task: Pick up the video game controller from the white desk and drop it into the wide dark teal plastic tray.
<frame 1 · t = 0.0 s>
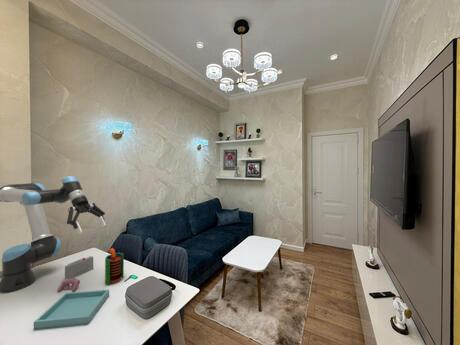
hand: (92, 229, 111), 36 cm above the table, tool tilted 35°, fingers open, 13 cm apart
motor: (113, 280, 121), on the table
tray: (76, 310, 95), on the table
video game controller: (69, 290, 112), on the table
cassette player: (79, 274, 128), on the table
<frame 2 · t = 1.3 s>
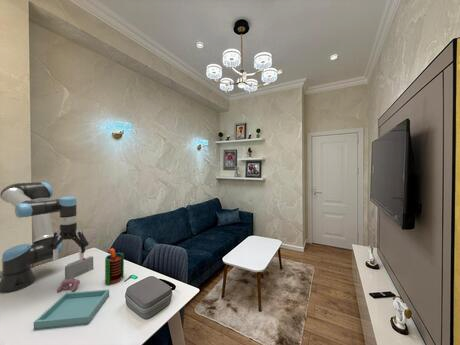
hand: (68, 259, 112), 18 cm above the table, tool pointing down, fingers open, 13 cm apart
nothing on the table moved.
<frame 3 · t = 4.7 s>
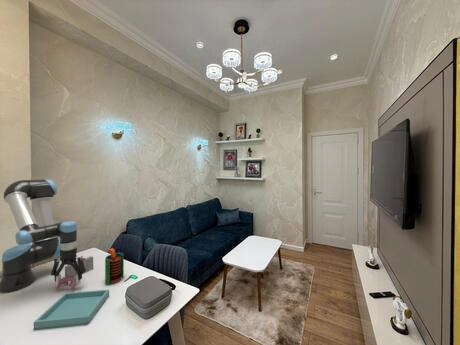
hand: (68, 285, 112), 2 cm above the table, tool pointing down, fingers closed on video game controller, 10 cm apart
video game controller: (67, 287, 111), point 2 cm above the table, touching gripper
everything else where it was.
when the fingers open (2 cm above the table, at t = 11.0 s): video game controller moves 1 cm, resting on tray.
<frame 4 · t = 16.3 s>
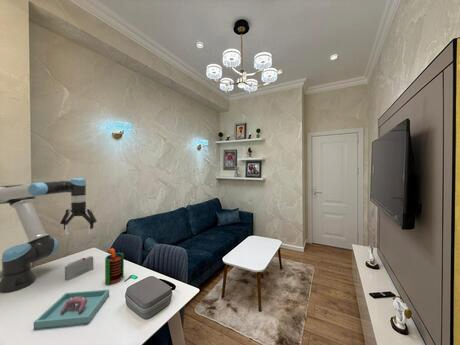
hand: (78, 234, 124), 29 cm above the table, tool pointing down, fingers open, 13 cm apart
video game controller: (74, 311, 94), point 1 cm above the table, touching tray
everything else where it was.
at the end: video game controller inside the target area on the tray (1.0 cm from its centre), point 0.6 cm above the tray's base; video game controller touching tray; the gripper is holding nothing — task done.
